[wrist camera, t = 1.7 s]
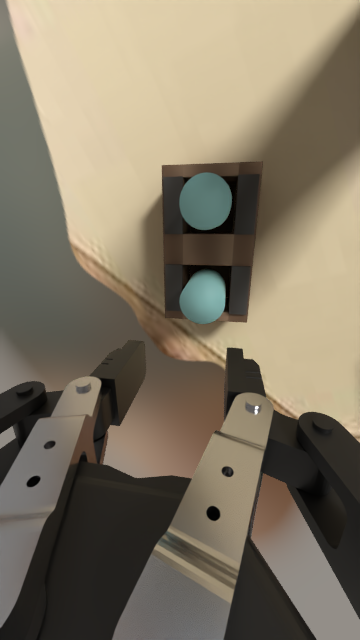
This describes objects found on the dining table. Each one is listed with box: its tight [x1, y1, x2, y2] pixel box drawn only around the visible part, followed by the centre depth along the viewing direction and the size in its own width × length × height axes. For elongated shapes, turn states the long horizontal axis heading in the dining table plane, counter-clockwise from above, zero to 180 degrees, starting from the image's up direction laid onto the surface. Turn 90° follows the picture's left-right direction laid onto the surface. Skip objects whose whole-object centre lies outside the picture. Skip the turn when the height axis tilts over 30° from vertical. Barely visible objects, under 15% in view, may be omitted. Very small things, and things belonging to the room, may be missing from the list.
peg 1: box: [179, 172, 232, 230], centre depth 22 cm, size 4×4×6 cm
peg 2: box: [180, 269, 225, 324], centre depth 25 cm, size 4×4×6 cm
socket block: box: [162, 162, 263, 322], centre depth 28 cm, size 9×15×6 cm, turn 0°
